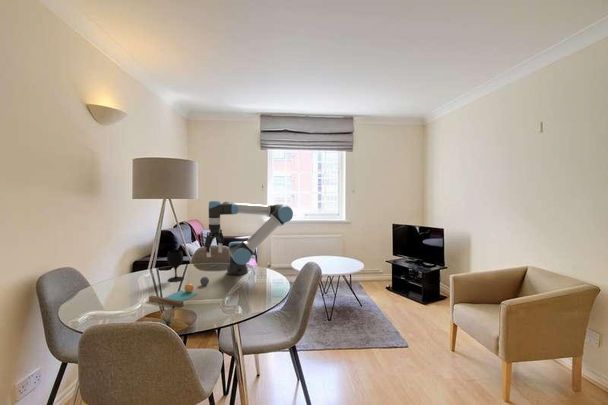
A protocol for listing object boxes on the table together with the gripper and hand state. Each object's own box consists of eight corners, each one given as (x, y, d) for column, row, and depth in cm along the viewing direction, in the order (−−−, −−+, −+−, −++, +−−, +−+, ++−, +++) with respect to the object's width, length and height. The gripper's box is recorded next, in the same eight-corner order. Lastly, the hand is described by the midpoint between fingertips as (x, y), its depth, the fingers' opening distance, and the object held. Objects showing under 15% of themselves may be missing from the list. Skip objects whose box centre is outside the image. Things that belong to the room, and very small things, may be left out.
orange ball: (189, 290, 196) (188, 281, 196) (195, 291, 194) (195, 282, 194) (182, 293, 191) (182, 284, 191) (189, 294, 189) (189, 285, 189)
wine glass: (178, 282, 210) (177, 253, 209) (164, 281, 213) (163, 252, 211) (187, 277, 221) (186, 249, 219) (173, 276, 223) (172, 249, 221)
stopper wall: (152, 299, 182) (151, 295, 182) (183, 306, 172) (183, 301, 172) (149, 300, 180) (148, 296, 180) (180, 307, 171) (180, 303, 170)
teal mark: (180, 290, 195) (180, 290, 195) (198, 294, 190) (198, 293, 190) (162, 298, 183) (162, 298, 183) (180, 302, 177) (180, 302, 177)
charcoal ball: (204, 283, 209) (204, 275, 209) (210, 284, 207) (210, 276, 206) (198, 285, 204) (198, 277, 204) (205, 286, 202) (204, 278, 201)
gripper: (220, 221, 223) (220, 250, 225) (198, 226, 199) (198, 258, 201) (229, 221, 221) (229, 251, 222) (208, 226, 197) (208, 259, 199)
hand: (214, 254), depth 212 cm, fingers open, 13 cm apart
